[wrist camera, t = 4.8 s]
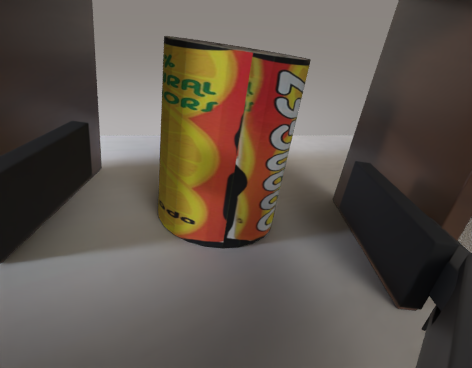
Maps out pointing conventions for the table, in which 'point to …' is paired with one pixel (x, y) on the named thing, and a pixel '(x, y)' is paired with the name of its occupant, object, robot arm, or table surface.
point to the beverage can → (224, 138)
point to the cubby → (368, 129)
